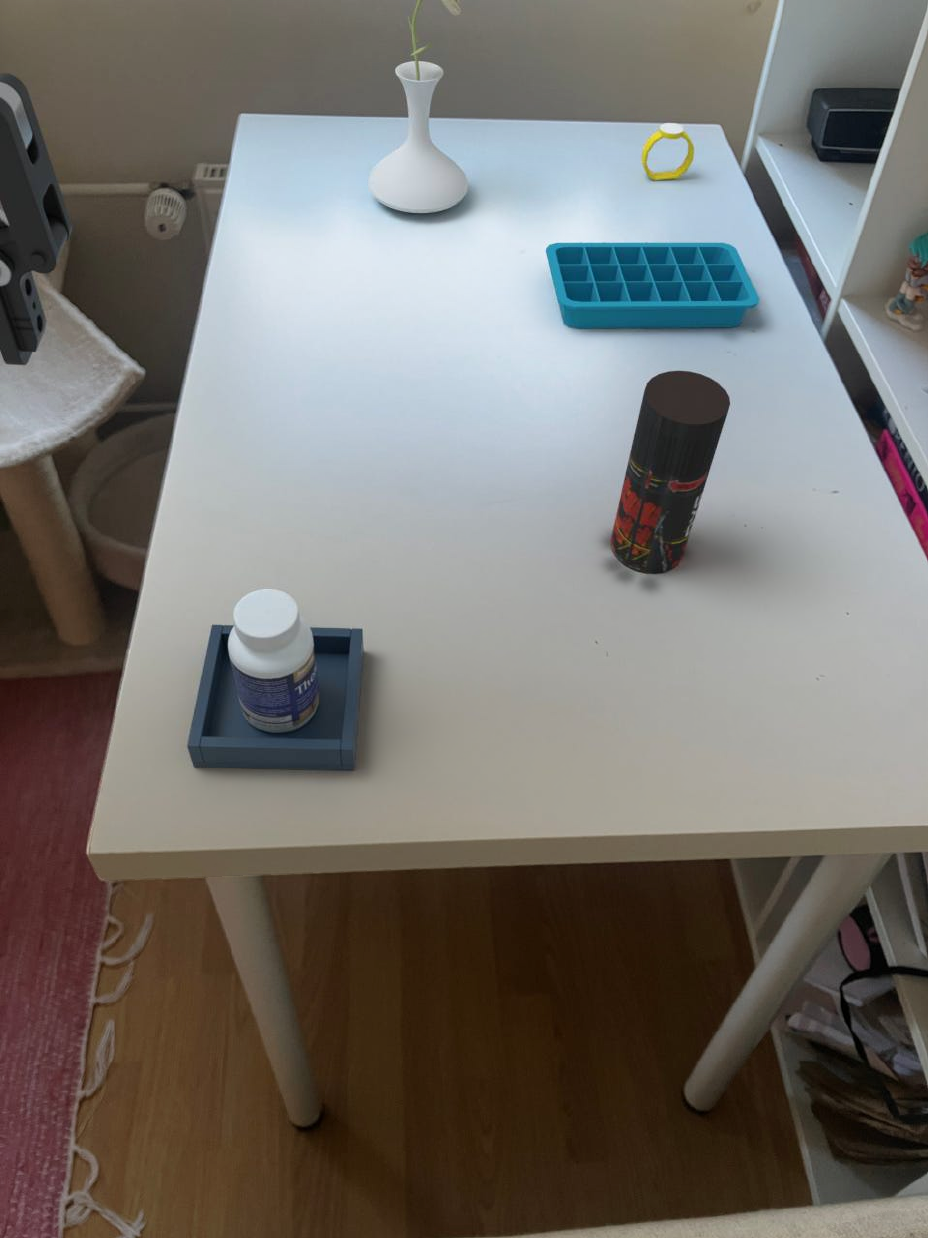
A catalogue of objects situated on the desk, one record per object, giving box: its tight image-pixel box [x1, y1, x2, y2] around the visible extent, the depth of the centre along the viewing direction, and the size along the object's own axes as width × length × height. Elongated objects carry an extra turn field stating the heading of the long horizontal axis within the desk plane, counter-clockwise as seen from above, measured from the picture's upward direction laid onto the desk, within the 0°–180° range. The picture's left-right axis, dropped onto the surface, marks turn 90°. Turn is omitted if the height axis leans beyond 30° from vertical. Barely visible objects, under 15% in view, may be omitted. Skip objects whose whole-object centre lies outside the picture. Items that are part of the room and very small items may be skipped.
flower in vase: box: [367, 0, 469, 214], centre depth 106 cm, size 13×11×25 cm
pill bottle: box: [228, 588, 319, 733], centre depth 65 cm, size 5×5×10 cm
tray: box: [186, 624, 365, 771], centre depth 69 cm, size 11×10×3 cm
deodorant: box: [610, 370, 731, 575], centre depth 75 cm, size 6×6×15 cm
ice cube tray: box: [545, 242, 760, 329], centre depth 103 cm, size 12×20×3 cm, turn 94°
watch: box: [640, 122, 695, 182], centre depth 118 cm, size 6×3×6 cm, turn 97°
